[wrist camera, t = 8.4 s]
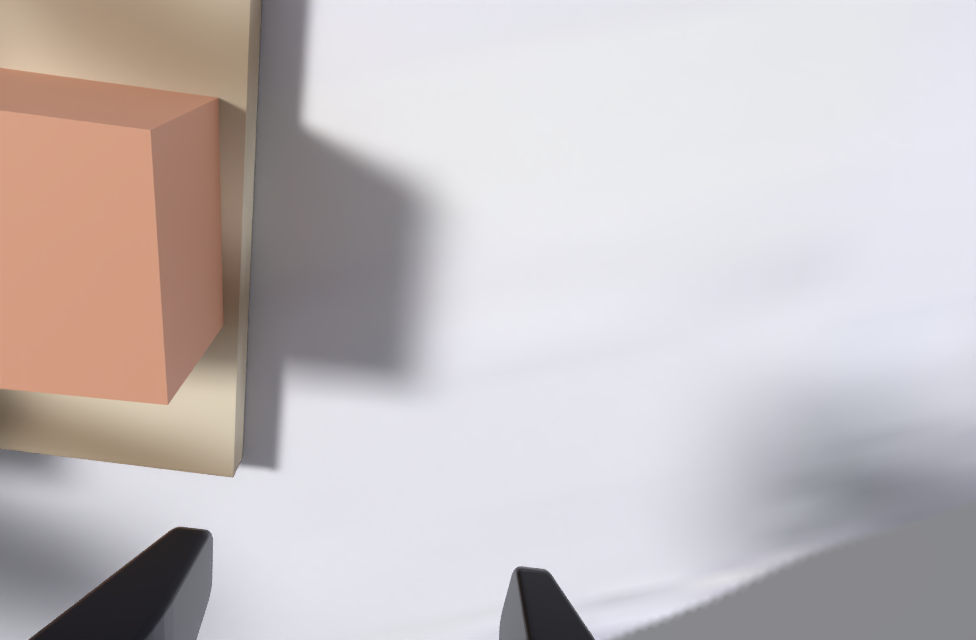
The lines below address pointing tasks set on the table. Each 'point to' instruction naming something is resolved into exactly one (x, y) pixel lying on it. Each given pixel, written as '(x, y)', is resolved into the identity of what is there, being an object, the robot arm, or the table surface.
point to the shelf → (234, 80)
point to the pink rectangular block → (107, 236)
